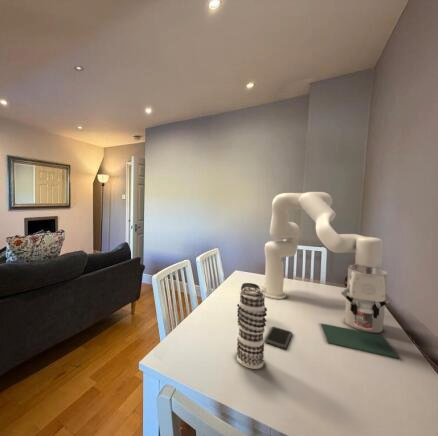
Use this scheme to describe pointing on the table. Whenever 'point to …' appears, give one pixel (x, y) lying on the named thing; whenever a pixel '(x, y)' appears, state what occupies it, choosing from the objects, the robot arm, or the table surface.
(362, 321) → the pill bottle
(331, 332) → the right mat
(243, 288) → the coffee cup
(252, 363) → the black white tall cylinder
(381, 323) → the cylinder vase
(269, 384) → the table surface
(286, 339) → the cell phone
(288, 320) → the table surface
